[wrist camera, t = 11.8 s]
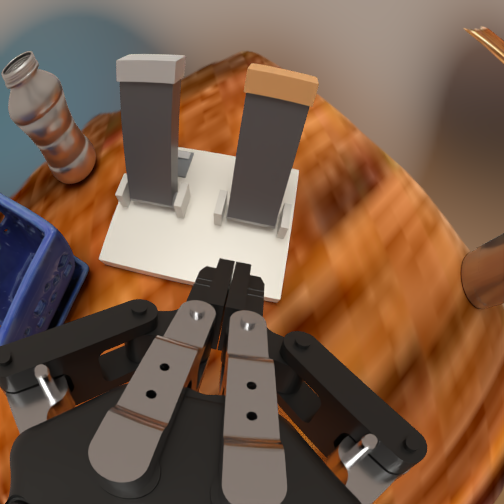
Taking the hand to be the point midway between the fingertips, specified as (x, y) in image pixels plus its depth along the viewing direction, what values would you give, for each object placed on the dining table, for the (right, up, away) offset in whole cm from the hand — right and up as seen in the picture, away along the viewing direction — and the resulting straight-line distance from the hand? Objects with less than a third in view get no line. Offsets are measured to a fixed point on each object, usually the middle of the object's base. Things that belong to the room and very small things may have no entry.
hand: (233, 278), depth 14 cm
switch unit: (-5, +5, +20) cm, 22 cm away
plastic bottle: (-23, +13, +21) cm, 34 cm away
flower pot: (-25, -4, +16) cm, 29 cm away
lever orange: (+1, +5, +18) cm, 18 cm away
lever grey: (-10, +7, +17) cm, 21 cm away
